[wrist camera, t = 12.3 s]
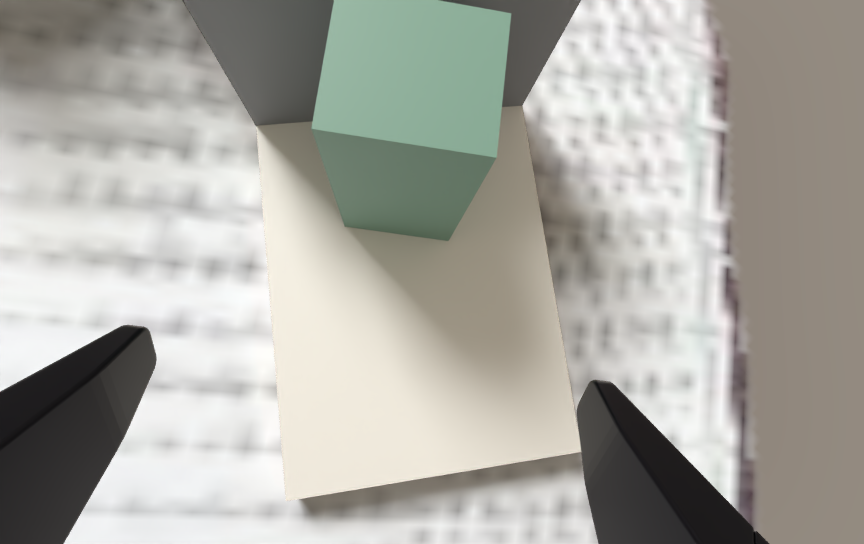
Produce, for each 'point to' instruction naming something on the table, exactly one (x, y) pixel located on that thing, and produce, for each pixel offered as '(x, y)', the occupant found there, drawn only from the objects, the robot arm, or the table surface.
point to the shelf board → (398, 279)
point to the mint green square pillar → (410, 111)
